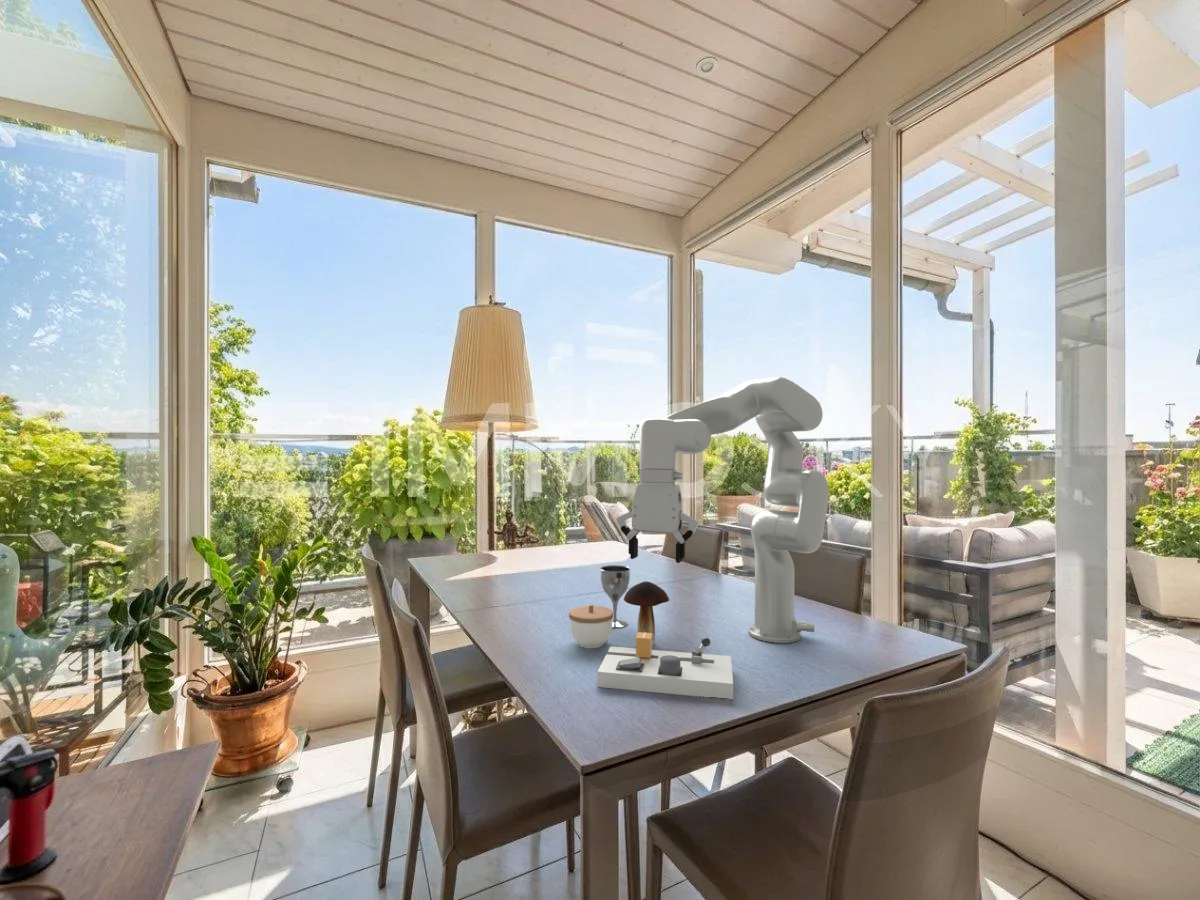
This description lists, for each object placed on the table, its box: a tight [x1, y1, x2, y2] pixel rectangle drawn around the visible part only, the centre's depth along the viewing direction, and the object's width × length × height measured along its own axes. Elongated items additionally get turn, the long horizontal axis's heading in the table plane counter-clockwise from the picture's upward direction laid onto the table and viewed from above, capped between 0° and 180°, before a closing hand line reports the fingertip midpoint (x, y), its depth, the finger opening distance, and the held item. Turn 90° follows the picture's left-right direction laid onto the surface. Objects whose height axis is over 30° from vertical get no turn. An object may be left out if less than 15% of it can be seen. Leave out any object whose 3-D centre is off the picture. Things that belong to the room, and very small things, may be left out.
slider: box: [635, 631, 653, 658], centre depth 115 cm, size 3×4×4 cm
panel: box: [596, 646, 734, 700], centre depth 111 cm, size 26×14×5 cm, turn 78°
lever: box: [695, 636, 711, 656], centre depth 112 cm, size 2×2×5 cm
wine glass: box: [599, 564, 631, 629], centre depth 145 cm, size 8×8×15 cm
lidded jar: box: [568, 604, 614, 649], centre depth 130 cm, size 11×11×9 cm
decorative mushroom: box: [623, 581, 670, 643], centre depth 131 cm, size 11×11×15 cm
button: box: [660, 655, 680, 676], centre depth 107 cm, size 4×4×4 cm
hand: (656, 559), depth 113 cm, fingers open, 9 cm apart
